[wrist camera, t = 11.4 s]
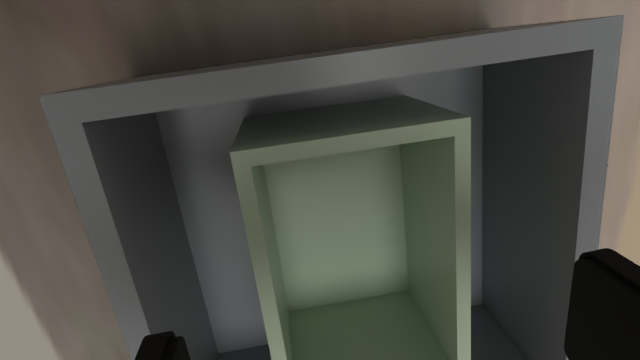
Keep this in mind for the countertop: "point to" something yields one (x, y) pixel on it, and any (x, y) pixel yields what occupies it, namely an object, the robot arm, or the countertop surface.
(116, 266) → the big crate
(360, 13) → the countertop surface
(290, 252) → the small crate
